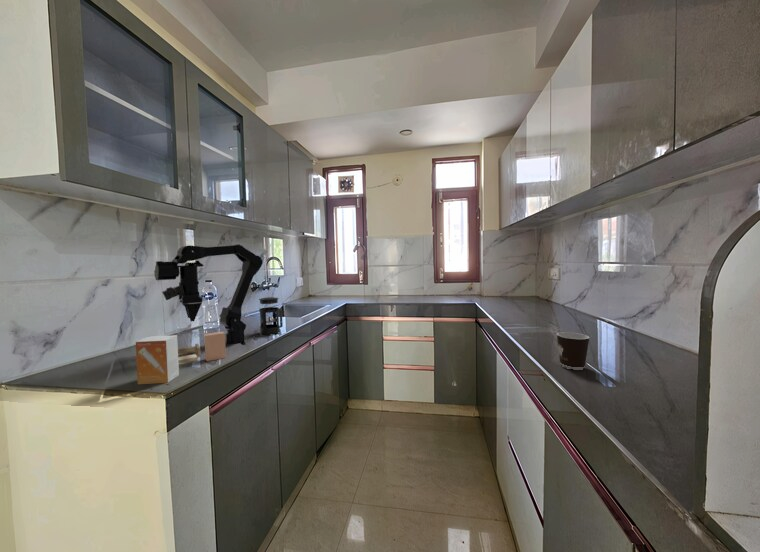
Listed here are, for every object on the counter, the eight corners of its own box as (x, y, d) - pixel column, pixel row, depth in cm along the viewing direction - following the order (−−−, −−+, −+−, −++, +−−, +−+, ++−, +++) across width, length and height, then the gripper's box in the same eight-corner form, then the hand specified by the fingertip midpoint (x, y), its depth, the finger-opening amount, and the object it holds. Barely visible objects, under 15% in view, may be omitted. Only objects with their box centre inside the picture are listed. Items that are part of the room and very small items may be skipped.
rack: (197, 353, 117) (197, 343, 116) (200, 358, 110) (200, 347, 110) (169, 358, 111) (168, 347, 111) (170, 364, 105) (170, 352, 104)
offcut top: (195, 358, 109) (195, 354, 108) (197, 361, 105) (197, 356, 105) (176, 361, 105) (176, 357, 105) (178, 364, 102) (178, 360, 102)
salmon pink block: (224, 356, 111) (223, 331, 110) (225, 358, 108) (224, 333, 108) (205, 359, 107) (204, 334, 107) (206, 361, 105) (205, 335, 104)
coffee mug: (589, 374, 90) (590, 340, 89) (555, 369, 94) (556, 337, 94) (587, 362, 99) (588, 332, 99) (557, 358, 104) (557, 329, 103)
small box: (137, 387, 86) (134, 341, 85) (150, 378, 92) (148, 336, 91) (168, 385, 87) (166, 340, 86) (179, 376, 93) (177, 334, 92)
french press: (254, 334, 145) (252, 286, 144) (265, 330, 154) (264, 285, 153) (276, 335, 143) (275, 286, 142) (286, 331, 152) (285, 285, 151)
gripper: (162, 278, 118) (164, 318, 119) (164, 281, 104) (166, 326, 104) (195, 277, 125) (197, 315, 126) (201, 279, 110) (203, 322, 111)
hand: (191, 319), depth 117 cm, fingers open, 9 cm apart
